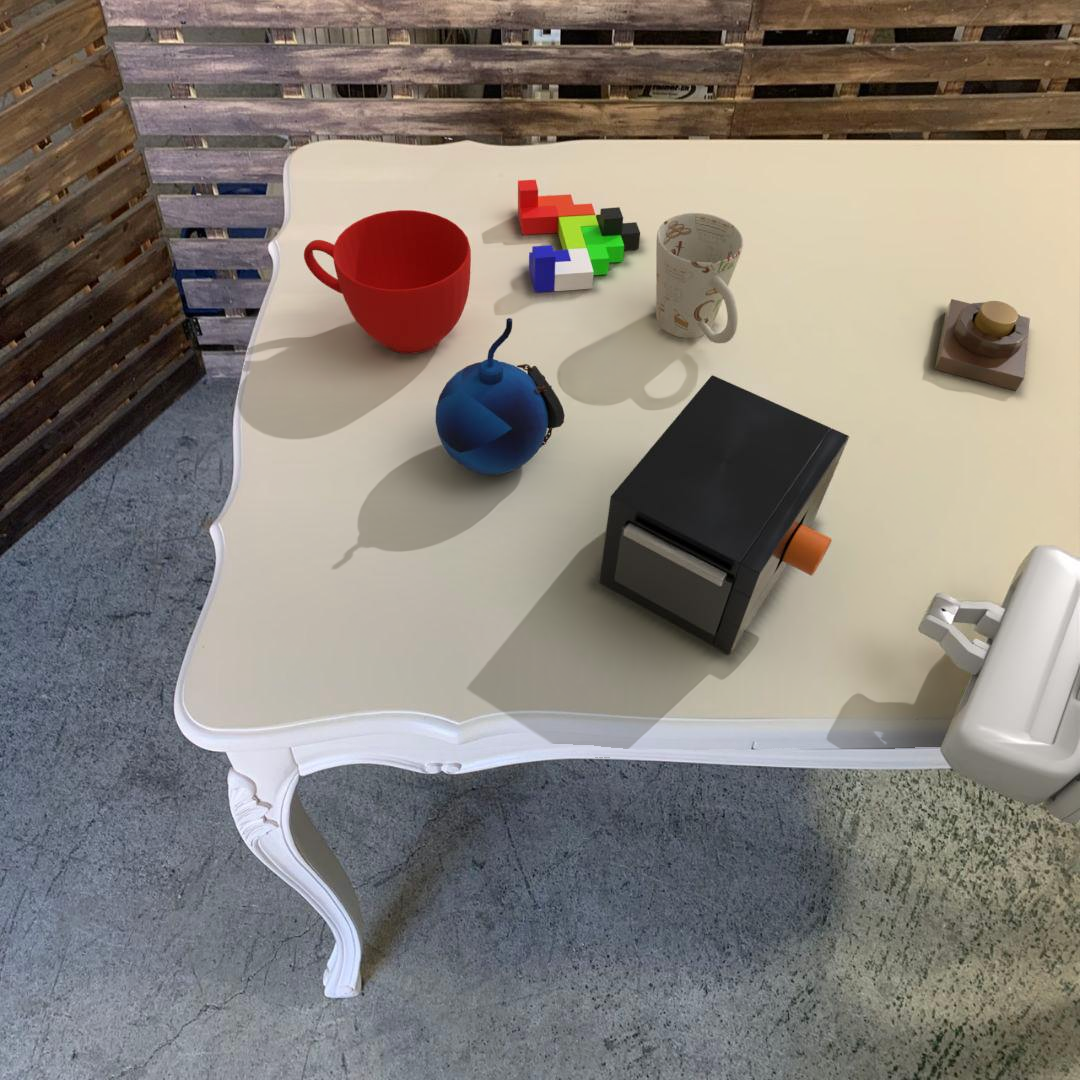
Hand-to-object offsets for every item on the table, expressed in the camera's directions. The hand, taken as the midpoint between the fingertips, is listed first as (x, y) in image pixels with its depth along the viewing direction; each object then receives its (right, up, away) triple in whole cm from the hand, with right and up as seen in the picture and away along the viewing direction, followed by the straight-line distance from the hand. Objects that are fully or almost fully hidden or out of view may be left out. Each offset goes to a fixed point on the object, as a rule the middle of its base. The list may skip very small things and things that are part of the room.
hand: (926, 610), depth 66 cm
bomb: (-32, +13, +17) cm, 39 cm away
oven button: (-8, +3, +4) cm, 10 cm away
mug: (-12, +27, +28) cm, 41 cm away
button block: (+17, +25, +27) cm, 41 cm away
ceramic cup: (-44, +27, +27) cm, 58 cm away
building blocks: (-24, +38, +37) cm, 58 cm away
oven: (-14, +4, +10) cm, 18 cm away
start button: (+17, +27, +25) cm, 40 cm away
